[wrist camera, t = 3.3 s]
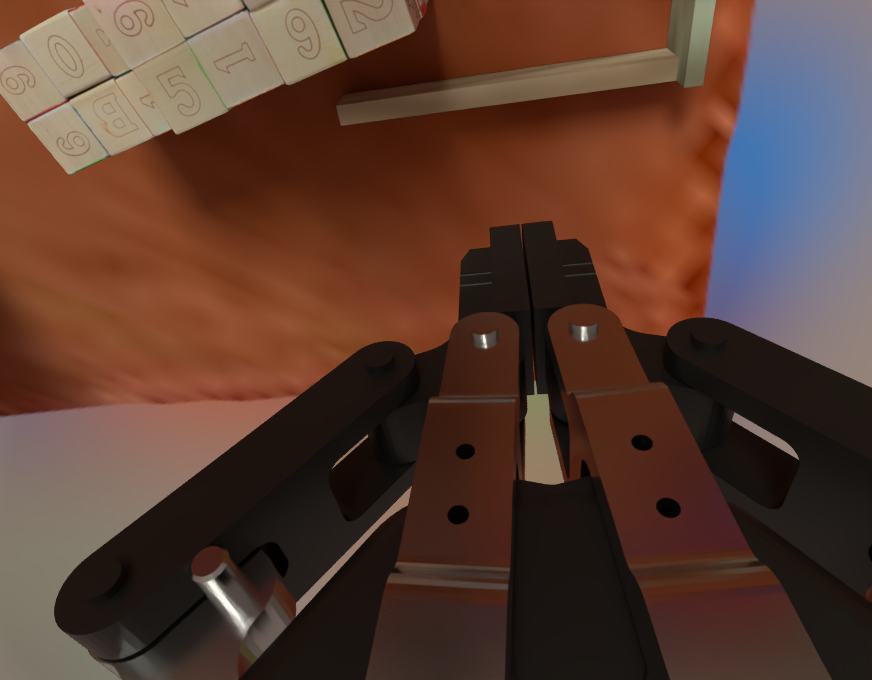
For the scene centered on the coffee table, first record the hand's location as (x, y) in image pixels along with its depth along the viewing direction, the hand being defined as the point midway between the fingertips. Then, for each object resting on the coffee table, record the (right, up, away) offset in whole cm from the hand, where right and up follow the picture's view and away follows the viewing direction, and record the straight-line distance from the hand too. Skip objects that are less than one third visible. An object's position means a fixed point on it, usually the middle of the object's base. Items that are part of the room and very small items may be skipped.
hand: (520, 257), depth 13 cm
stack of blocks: (-13, +18, +19) cm, 29 cm away
